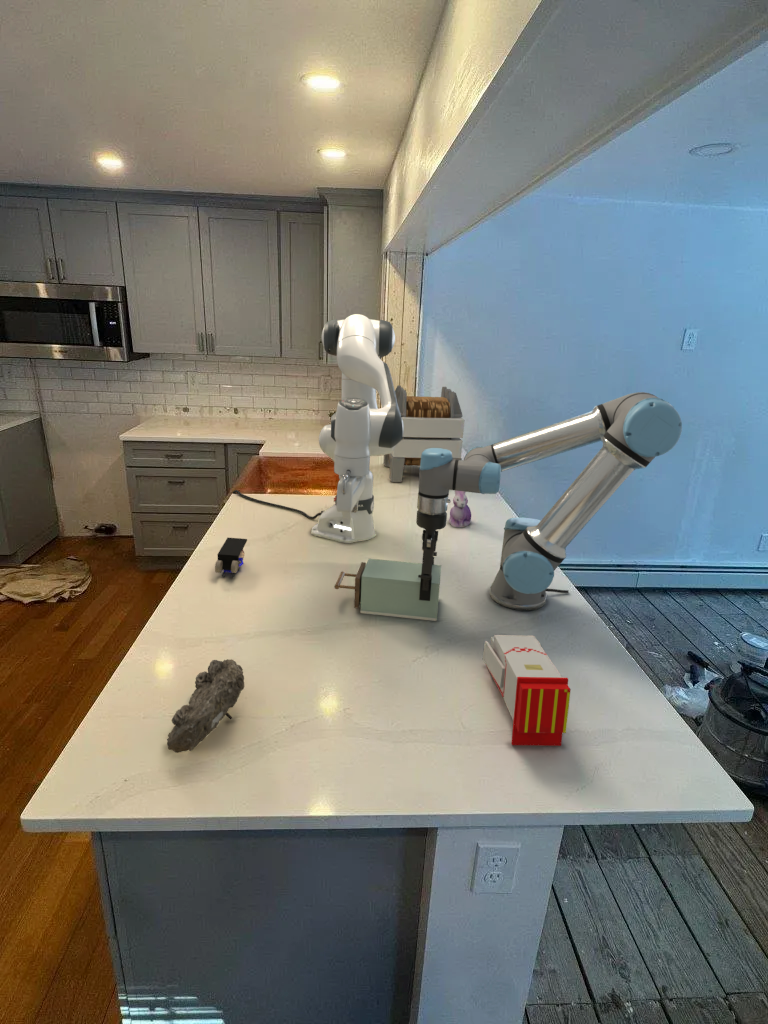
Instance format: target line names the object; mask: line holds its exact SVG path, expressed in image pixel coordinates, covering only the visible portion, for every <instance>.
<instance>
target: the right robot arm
mask: <svg viewBox="0 0 768 1024" xmlns="http://www.w3.org/2000/svg"><path fill="white" fill-rule="evenodd" d="M682 432H683V423H682V417H681V415H680V414H679V411H677V409H676V408H675V406H673V405H672V404H671V403H670V402H669V401H667V400H665V399H663V398H660V397H658V396H656V395H654V394H652V393H650V392H645V391H638V392H637V391H636V392H633V393H632V392H631V393H628V394H625V395H623V396H620V397H617V398H615V399H611V400H608V401H606V402H604V403H603V402H602V403H601V404H597V405H595V406H593V409H592V410H591V411H589V412H586V413H583V414H580V415H578V416H574V417H571V418H568V419H565V420H563V421H559V422H556V423H553V424H549V425H547V426H544V427H541V428H539V429H535V430H531V431H528V432H526V433H522V434H519V435H517V436H514V437H513V436H512V437H511V438H507V439H505V440H501V441H498V442H495V443H492V444H489V445H486V446H481V445H478V446H473V447H472V448H470V449H469V450H468V451H467V452H466V454H465V456H464V458H463V459H462V460H456V459H453V457H452V452H451V451H449V450H447V449H442V448H429V449H426V450H424V451H423V452H422V454H421V463H420V466H419V473H418V491H417V502H416V508H417V510H416V520H415V521H416V523H415V524H416V526H418V527H419V528H421V529H422V534H421V541H422V545H421V550H422V561H421V562H422V572H421V575H418V578H421V582H420V596H419V600H424V601H430V594H431V582H432V575H431V574H432V564H433V565H435V557H437V556H438V552H437V551H436V550H437V542H438V541H439V539H438V538H439V530H443V529H444V528H446V526H447V519H448V513H447V511H448V505H449V504H450V503H451V502H452V500H451V499H450V498H449V495H450V491H455V490H456V491H464V492H465V493H474V494H481V495H496V494H498V493H499V491H500V486H501V485H500V484H501V478H502V477H501V476H502V472H505V471H508V470H511V469H514V468H518V467H521V466H524V465H527V464H531V463H534V462H537V461H540V460H544V459H547V458H550V457H553V456H557V455H560V454H563V453H566V452H570V451H573V450H576V449H579V448H582V447H586V446H590V445H592V444H596V443H600V442H602V447H601V448H600V449H599V450H598V451H597V453H596V454H595V455H594V456H593V457H592V459H591V460H590V461H589V462H588V464H587V465H586V466H585V468H584V469H582V471H581V472H580V473H579V474H578V476H577V477H576V478H575V479H574V481H572V483H571V484H570V485H569V486H568V488H567V489H566V490H565V491H564V492H563V494H562V495H561V496H560V497H559V498H558V499H557V500H556V502H555V503H554V504H553V506H552V507H551V508H550V509H549V510H548V511H547V513H546V514H545V515H544V516H543V517H542V518H541V520H540V519H536V518H531V517H522V516H521V517H511V518H508V519H507V520H506V521H505V525H504V528H503V532H504V533H503V539H502V547H501V555H500V561H499V562H500V563H499V569H498V571H497V573H496V575H495V577H494V579H493V581H492V583H491V586H490V589H489V595H490V598H491V599H492V600H493V601H494V602H495V603H496V604H498V605H500V606H503V607H504V608H508V609H511V610H516V611H534V610H538V609H541V608H542V607H544V606H545V604H546V602H547V592H550V593H560V594H569V590H567V589H566V590H565V589H556V588H549V587H550V585H551V584H552V583H553V580H554V578H555V571H556V570H557V568H558V567H559V566H560V565H561V564H562V563H563V561H564V560H565V559H567V547H568V546H569V545H570V544H571V542H572V541H573V540H574V539H575V538H576V537H577V536H578V534H580V533H581V531H582V530H583V529H584V528H585V526H587V524H588V523H589V522H590V521H591V520H592V519H593V518H594V516H595V515H596V514H597V513H598V512H599V511H600V509H602V507H604V505H605V504H606V503H607V502H608V500H609V499H610V498H611V497H612V496H613V495H614V494H615V493H616V492H617V490H618V489H619V488H620V487H621V486H622V485H623V483H624V482H625V481H626V480H627V479H628V478H629V477H630V475H632V473H633V472H634V471H635V470H640V469H646V468H647V467H648V465H649V464H651V462H652V461H653V460H654V459H655V458H656V457H659V456H662V455H665V454H667V453H668V452H670V451H671V450H672V449H674V447H675V446H676V445H677V443H678V442H679V440H680V438H681V435H682Z"/></svg>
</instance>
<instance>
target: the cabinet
mask: <svg viewBox="0 0 768 1024" xmlns="http://www.w3.org/2000/svg"><path fill="white" fill-rule="evenodd" d="M421 572H422V563H421V562H411V561H402V560H401V561H400V560H390V559H389V560H388V559H378V558H368V559H367V561H366V567H365V569H364V572H363V574H362V581H361V603H360V614H366V615H375V616H386V617H395V618H403V619H404V618H406V619H414V620H424V621H433V622H437V621H438V611H439V601H440V588H441V587H440V586H441V576H442V575H441V574H442V565H441V564H434V565H433V564H432V574H431V575H432V582H431V594H430V601H424V600H419V596H420V582H421V578H418V575H421Z"/></svg>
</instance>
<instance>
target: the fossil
mask: <svg viewBox="0 0 768 1024" xmlns="http://www.w3.org/2000/svg"><path fill="white" fill-rule="evenodd" d="M243 670H244V669H243V667H242V665H240V664H237V662H236V661H235V660H234V659H232V658H231V659H227V658H226V659H224V660H223V661H222V660H217V659H212V660H211V661H210V663H209V665H208V666H207V671H201V672H199V673H198V674H197V675H196V676H195V680H194V684H195V685H194V687H195V689H194V690H193V693H192V694H191V697H190V698H189V700H188V704H184V705H182V706H181V707H180V709H177V710H176V711H175V713H174V715H173V716H172V718H171V723H172V724H173V727H172V730H171V731H170V732H168V734H167V738H166V741H167V742H166V745H167V749H168V750H169V751H173V752H174V753H176V754H178V753H182V752H188V751H189V752H192V751H193V750H195V748H196V747H197V746H199V744H200V743H201V742H203V741H204V740H205V739H206V738H207V737H208V736H209V735H210V734H211V733H212V732H214V730H215V729H217V727H218V726H219V724H220V722H221V721H222V720H223V719H224V718H225V716H226V717H227V719H229V720H233V717H232V715H230V714H229V710H230V709H231V708H234V706H235V704H236V703H237V702H238V699H239V697H240V695H241V693H242V691H243V690H245V689H244V688H245V675H244V671H243Z"/></svg>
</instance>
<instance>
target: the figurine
mask: <svg viewBox="0 0 768 1024" xmlns="http://www.w3.org/2000/svg"><path fill="white" fill-rule="evenodd" d="M452 503H453V506H452V507H451V508H450V511H449V518H448V519H449V520H448V523H449V524H450V525H451V527H454V528H464V527H468V526H469V525H470V524H471V520H472V511H471V508H470V506H469V505H468V503H469V499H468V497H467V495H466V492H464V491H456V490H454V496H453V498H452Z"/></svg>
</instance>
